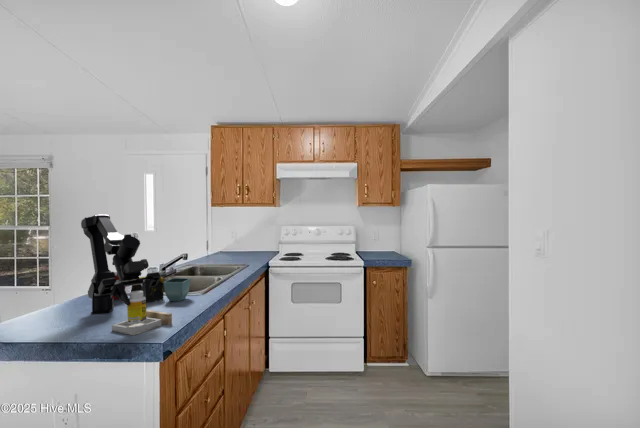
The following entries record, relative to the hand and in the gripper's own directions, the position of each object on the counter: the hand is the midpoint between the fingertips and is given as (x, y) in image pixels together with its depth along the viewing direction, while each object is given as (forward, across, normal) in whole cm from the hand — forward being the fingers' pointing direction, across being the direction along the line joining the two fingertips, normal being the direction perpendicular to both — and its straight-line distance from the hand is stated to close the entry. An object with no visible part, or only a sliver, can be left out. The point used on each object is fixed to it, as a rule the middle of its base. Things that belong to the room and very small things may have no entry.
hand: (138, 303), depth 113 cm
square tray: (+5, 0, +7) cm, 9 cm away
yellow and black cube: (-20, +19, +33) cm, 43 cm away
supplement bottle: (+4, 0, +6) cm, 7 cm away
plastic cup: (-30, +12, +43) cm, 54 cm away
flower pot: (-12, +28, +25) cm, 39 cm away
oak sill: (+4, +7, +8) cm, 12 cm away
